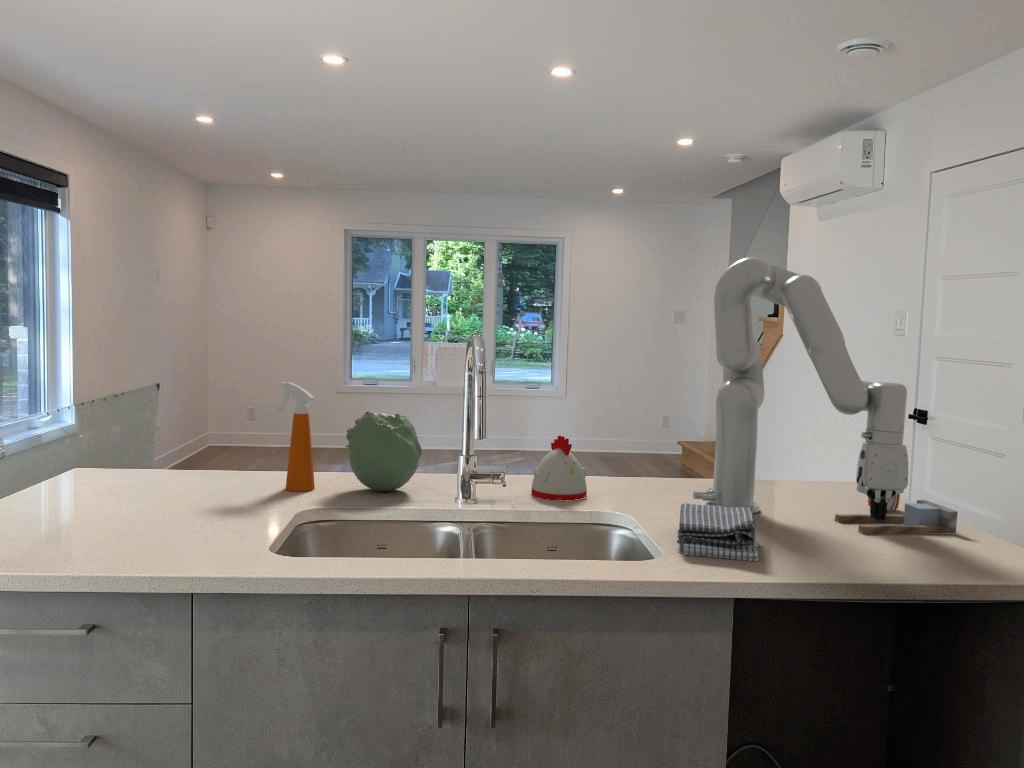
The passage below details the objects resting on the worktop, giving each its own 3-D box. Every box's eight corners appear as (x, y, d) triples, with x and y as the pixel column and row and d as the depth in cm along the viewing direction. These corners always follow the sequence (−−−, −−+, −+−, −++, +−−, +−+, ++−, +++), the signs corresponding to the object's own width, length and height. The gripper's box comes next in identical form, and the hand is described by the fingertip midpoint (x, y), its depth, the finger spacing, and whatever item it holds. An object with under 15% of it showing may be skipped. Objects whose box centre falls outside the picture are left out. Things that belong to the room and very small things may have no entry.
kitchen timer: (550, 503, 190) (553, 441, 189) (521, 491, 202) (523, 433, 201) (597, 498, 197) (599, 438, 196) (566, 487, 209) (568, 431, 208)
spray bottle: (284, 483, 201) (285, 380, 199) (320, 487, 198) (322, 383, 196) (266, 488, 195) (267, 382, 192) (304, 493, 191) (305, 384, 189)
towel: (751, 539, 165) (754, 502, 164) (758, 564, 147) (761, 523, 146) (677, 532, 168) (679, 496, 167) (675, 556, 150) (677, 516, 150)
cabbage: (417, 498, 189) (419, 416, 188) (338, 496, 189) (340, 413, 187) (424, 485, 205) (426, 408, 203) (351, 483, 205) (352, 406, 203)
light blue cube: (917, 530, 176) (918, 508, 176) (903, 524, 181) (905, 503, 181) (937, 530, 177) (939, 508, 176) (923, 524, 182) (925, 503, 181)
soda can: (902, 513, 192) (905, 464, 191) (870, 511, 193) (874, 462, 192) (894, 507, 198) (897, 460, 197) (864, 505, 200) (867, 458, 199)
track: (862, 533, 171) (863, 511, 171) (834, 520, 182) (836, 499, 182) (955, 533, 174) (957, 511, 173) (923, 520, 185) (924, 499, 184)
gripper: (862, 439, 171) (856, 522, 173) (926, 441, 173) (919, 523, 175) (843, 434, 179) (837, 514, 180) (904, 436, 181) (898, 514, 182)
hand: (877, 518), depth 177 cm, fingers closed
